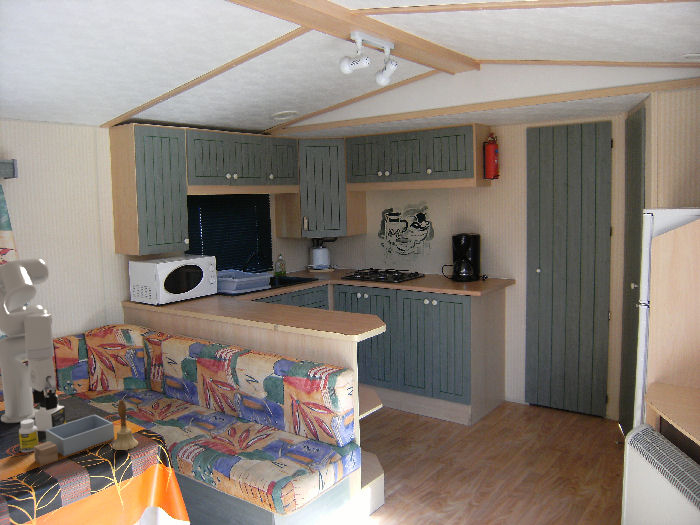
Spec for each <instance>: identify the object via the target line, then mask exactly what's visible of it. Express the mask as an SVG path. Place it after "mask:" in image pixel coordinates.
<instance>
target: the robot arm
mask: <svg viewBox="0 0 700 525" xmlns="http://www.w3.org/2000/svg"><path fill="white" fill-rule="evenodd" d="M49 272H50V271H49V268H48V264H47V263H46V262H45V260H44V259H42V258H30V259H19V260H18V259H17V260H11V261H7V262H5V263H2V264H0V331H1V333H4V335H5V337H3V338H1V339H0V374H1V381H2V382H1V384H2V393H3V402H4V414H2V415H1V417H0V421H1V422H2V423H5V424H16V423H21V422H22V421H23V420H27V419H35V412H36V411H38V410H39V409H37V408H36V407H35V408H34V404H40V402H43V401H45V407H46V410H50V409H54V408H57V401H56V395H57V385H56V382H57V381H56V374H55V373H56V372H55V366H54V362H53V357H54V356H55V353H54V340H53V330H52V326H53V325H52V324H53V318H52V314H51V312H49V311H48V309H45V308H44V307H43V306H42V305H40V304H28V303H30V302H32V301H33V299H35V297H36V295H37V289H36V286H37V285H41V284H43V283H45V282H47V280H48V278H49ZM27 304H28V305H27ZM25 360H26V361H27V364H25V363H23V362H22V361H25ZM44 395H45V396H46V397H44Z"/></svg>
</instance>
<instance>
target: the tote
mask: <svg viewBox="0 0 700 525" xmlns="http://www.w3.org/2000/svg"><path fill="white" fill-rule="evenodd" d="M114 428H115V425H114V422H111V421H109V420H107V419H105V418H104V417H102V416H99V415H97V414H96V413H95V414H91V415H89V416H88V415H87V416H84V417H82V418H79V419H76V420H72V421H69V422H66V424H62V425H59V426H56V427H53V428H50V429H46V430H45V431H44V432H45V439H46V441H45V443H46V442H49V441H51V442H52V443H54V444H56V445H57V454H60V455H61V456H63V457H66V456H69V455H72V454H74V453H77V452H80V451H84V450H86V449H89V448H91V447H90V446H92V447H94V446H93V445H95V446H97V445H100V444H103V443H106V442H108V440H109V441H111V439H112V440H114V439H115V429H114ZM105 441H106V442H105ZM102 442H103V443H102ZM99 443H100V444H99ZM96 444H97V445H96ZM88 447H89V448H88ZM85 448H86V449H85Z"/></svg>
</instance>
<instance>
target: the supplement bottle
mask: <svg viewBox="0 0 700 525" xmlns="http://www.w3.org/2000/svg"><path fill="white" fill-rule="evenodd" d="M18 439H19V448H20V452H22V453H31V452H34V446H37V445H39V436H38V431H37V427H36V424H35V419H34V418H32V419H27V420H23V421H22V422H20V428H19V429H18Z"/></svg>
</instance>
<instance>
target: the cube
mask: <svg viewBox="0 0 700 525" xmlns="http://www.w3.org/2000/svg"><path fill="white" fill-rule="evenodd" d="M33 453H34V462H35V463H38V465H40V466H44V465H48V464H50V463H52V462H56V461H58V460H59V457H58V455H59V453H58V452H57V445H56V444H54V443H52V442H51V441H49V442H46V441H45V442H42V443H41V444H38V445H37V446H34V451H33Z"/></svg>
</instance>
